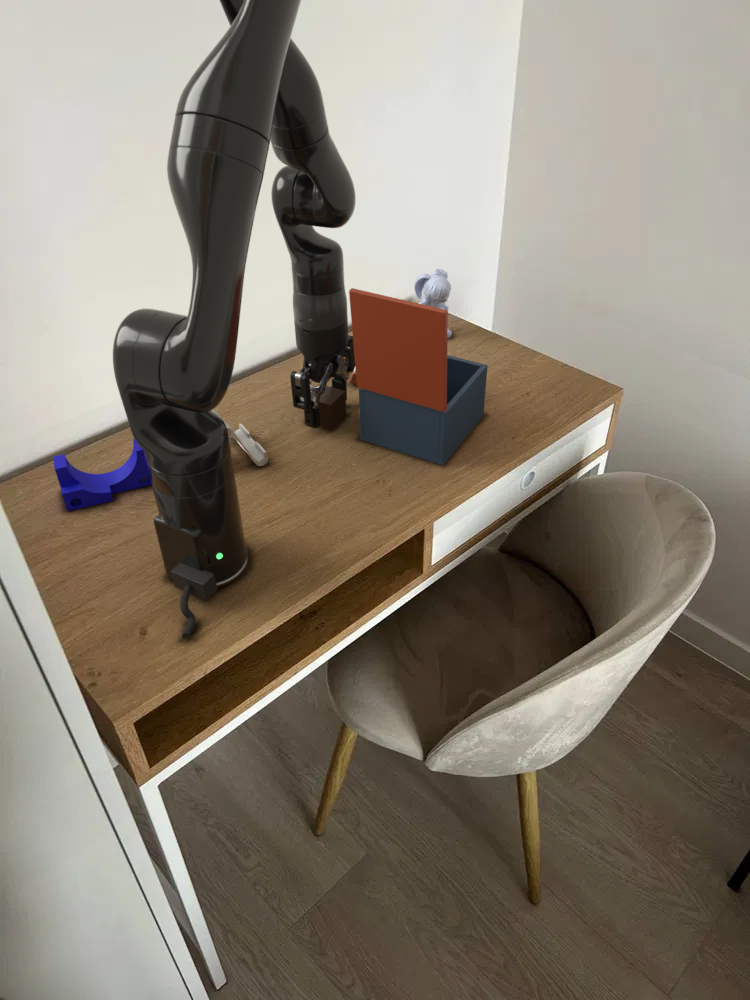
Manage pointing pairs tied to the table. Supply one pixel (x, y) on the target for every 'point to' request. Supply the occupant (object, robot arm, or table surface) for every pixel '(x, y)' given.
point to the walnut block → (331, 407)
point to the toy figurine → (434, 290)
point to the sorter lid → (400, 348)
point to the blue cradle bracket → (100, 480)
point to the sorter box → (427, 415)
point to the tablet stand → (248, 444)
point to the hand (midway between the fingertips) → (326, 413)
